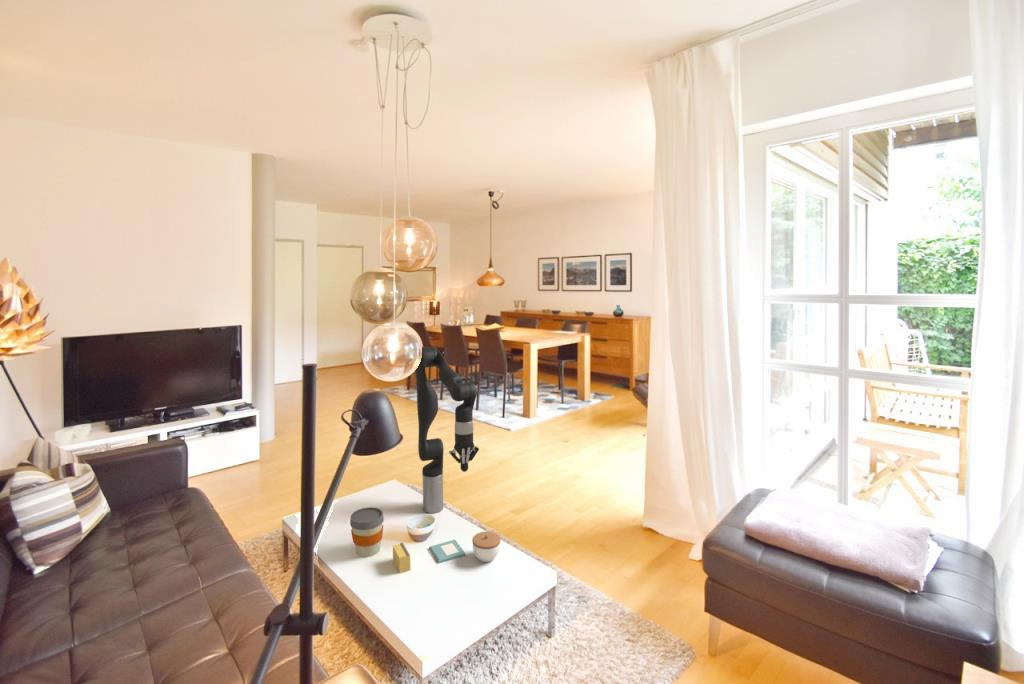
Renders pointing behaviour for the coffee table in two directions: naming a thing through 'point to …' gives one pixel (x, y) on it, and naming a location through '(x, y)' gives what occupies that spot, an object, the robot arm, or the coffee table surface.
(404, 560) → the yellow box with stripe
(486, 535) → the lidded jar
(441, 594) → the coffee table surface
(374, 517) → the reusable coffee cup
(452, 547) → the spiral notebook
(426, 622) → the coffee table surface
